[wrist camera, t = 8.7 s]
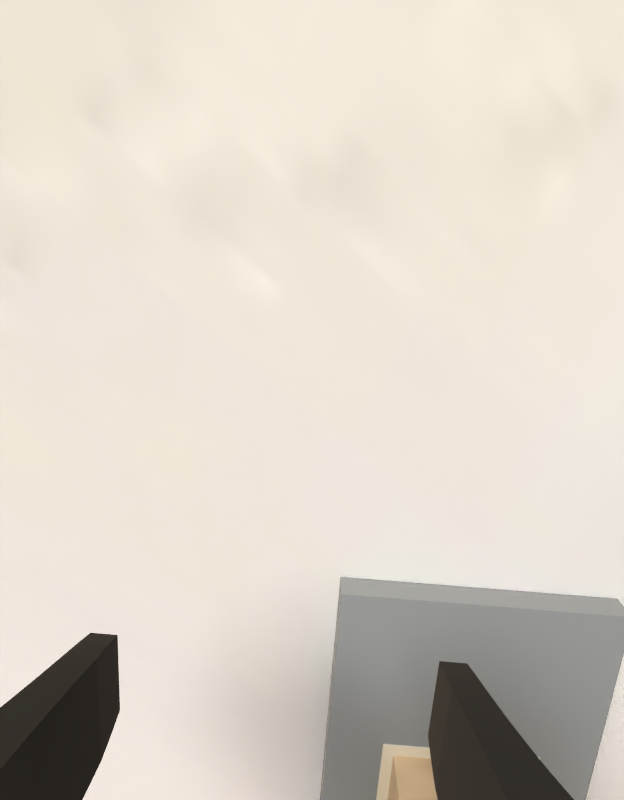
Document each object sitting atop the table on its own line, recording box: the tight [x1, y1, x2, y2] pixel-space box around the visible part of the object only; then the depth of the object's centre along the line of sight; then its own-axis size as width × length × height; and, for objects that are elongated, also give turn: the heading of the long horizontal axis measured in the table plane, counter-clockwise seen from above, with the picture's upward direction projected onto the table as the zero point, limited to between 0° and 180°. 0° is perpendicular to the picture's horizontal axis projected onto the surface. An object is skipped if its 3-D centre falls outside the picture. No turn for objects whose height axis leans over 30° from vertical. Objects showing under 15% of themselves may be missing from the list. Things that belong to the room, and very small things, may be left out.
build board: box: [320, 577, 624, 800], centre depth 24 cm, size 12×16×1 cm
